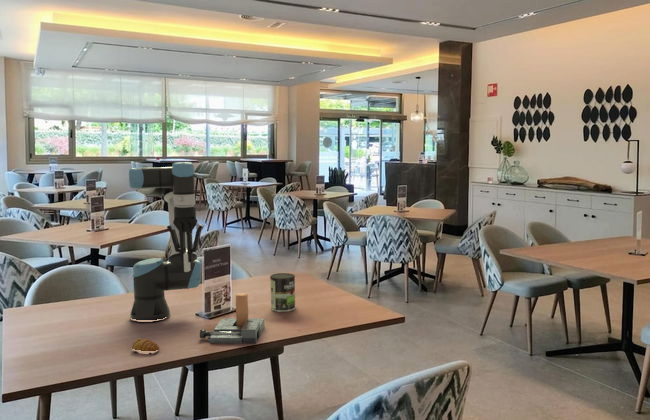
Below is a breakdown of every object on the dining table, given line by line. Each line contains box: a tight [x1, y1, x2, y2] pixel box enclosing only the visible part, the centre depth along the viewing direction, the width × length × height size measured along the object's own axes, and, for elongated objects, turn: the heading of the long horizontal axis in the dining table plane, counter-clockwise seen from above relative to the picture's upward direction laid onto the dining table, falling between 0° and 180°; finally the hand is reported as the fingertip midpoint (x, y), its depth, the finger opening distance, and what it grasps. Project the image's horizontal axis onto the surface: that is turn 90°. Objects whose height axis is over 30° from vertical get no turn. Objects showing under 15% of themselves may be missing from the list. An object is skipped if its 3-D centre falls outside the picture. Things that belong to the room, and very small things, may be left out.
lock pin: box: [199, 329, 241, 339], centre depth 200 cm, size 17×3×3 cm, turn 87°
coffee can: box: [269, 272, 296, 313], centre depth 237 cm, size 10×10×14 cm
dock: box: [206, 317, 265, 344], centre depth 205 cm, size 18×18×5 cm
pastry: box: [131, 338, 160, 351], centre depth 190 cm, size 9×7×4 cm
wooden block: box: [235, 292, 249, 326], centre depth 208 cm, size 4×4×14 cm
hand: (187, 270), depth 204 cm, fingers closed
